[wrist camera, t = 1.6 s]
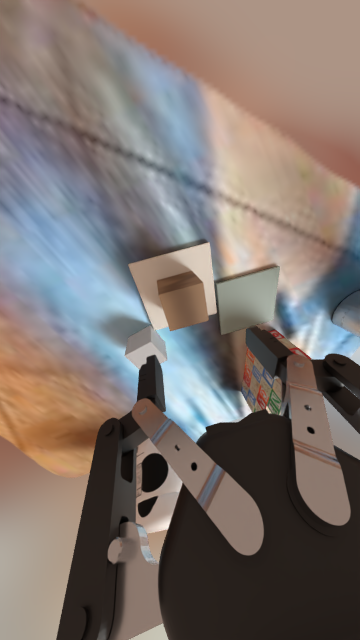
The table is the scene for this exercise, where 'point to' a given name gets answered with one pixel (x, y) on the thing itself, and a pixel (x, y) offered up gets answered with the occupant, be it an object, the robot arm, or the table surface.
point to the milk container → (154, 488)
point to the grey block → (145, 347)
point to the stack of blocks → (264, 381)
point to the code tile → (169, 266)
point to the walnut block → (183, 300)
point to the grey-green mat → (247, 300)
